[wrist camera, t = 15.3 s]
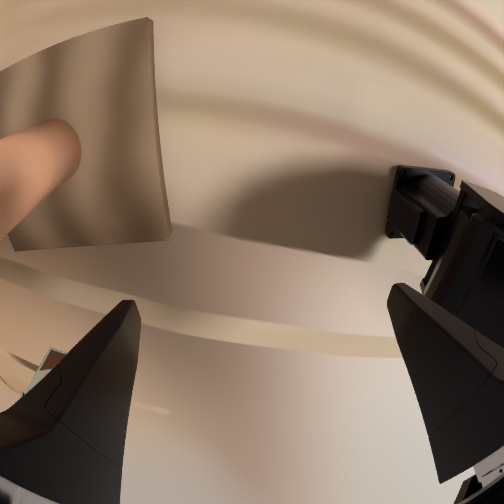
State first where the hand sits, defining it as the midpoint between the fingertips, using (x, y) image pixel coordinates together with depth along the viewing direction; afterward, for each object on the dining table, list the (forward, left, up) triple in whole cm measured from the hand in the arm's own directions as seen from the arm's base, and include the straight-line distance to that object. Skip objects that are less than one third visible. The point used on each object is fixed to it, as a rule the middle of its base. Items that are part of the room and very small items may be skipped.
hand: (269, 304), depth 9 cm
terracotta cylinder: (+14, -4, -12) cm, 18 cm away
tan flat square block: (+14, -4, -13) cm, 20 cm away
